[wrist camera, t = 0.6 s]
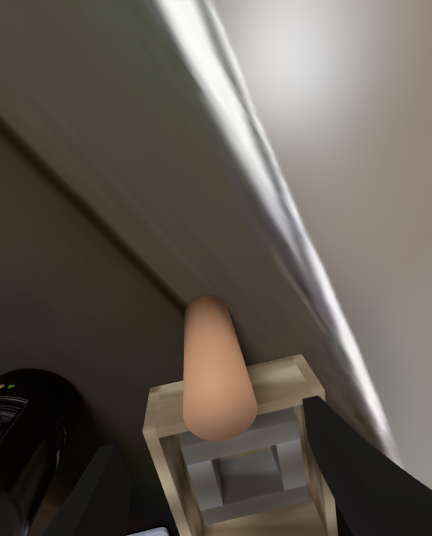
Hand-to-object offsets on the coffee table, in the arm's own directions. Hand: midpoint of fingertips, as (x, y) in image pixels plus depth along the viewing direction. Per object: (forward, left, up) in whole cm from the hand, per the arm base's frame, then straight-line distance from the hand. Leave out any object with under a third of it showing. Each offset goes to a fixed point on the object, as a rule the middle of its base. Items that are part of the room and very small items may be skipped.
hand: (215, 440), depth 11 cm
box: (-13, -1, -10) cm, 17 cm away
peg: (0, 0, -10) cm, 10 cm away
